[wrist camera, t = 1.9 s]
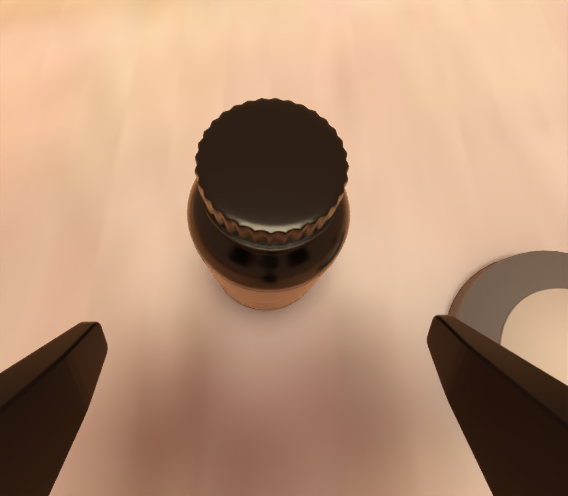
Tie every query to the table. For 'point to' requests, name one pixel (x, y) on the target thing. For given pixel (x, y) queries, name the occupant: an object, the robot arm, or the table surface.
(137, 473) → the table surface
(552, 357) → the hub pad
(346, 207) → the supplement bottle
